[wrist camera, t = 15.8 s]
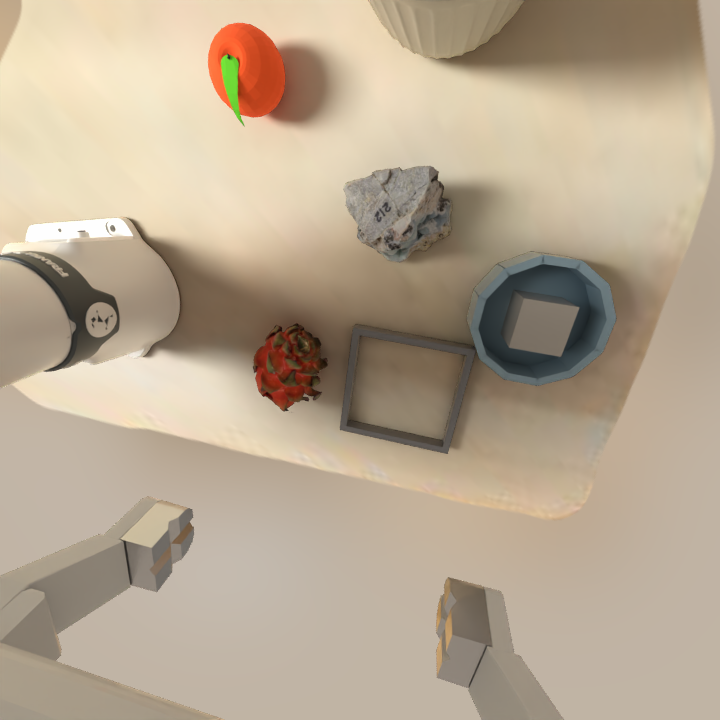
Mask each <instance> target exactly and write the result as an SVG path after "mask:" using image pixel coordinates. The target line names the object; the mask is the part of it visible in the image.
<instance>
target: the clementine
mask: <svg viewBox="0 0 720 720" xmlns="http://www.w3.org/2000/svg"><path fill="white" fill-rule="evenodd" d="M208 67H209V74H210V77H211V80H212V83H213V85H214V88H215V90H216V92H217V93H218V95H219V96H220V98H221V99H222V100H223V101H224V102H225V103H226V104H227V105H228V106H229V107H230V108H231V109H232V110H233V111H234V112H235V114H236V116H237V118H238V119H239V121H240V122H241V123H242V124H243V122H242V119H241V116H240V114H241V115H244V116H249V117H261V116H264V115H266V114H268V113H270V112H271V111H272V110H273V109H274V108H275V107H277V105H278V103H279V102H280V100H281V98H282V95H283V92H284V87H285V70H284V64H283V61H282V58H281V55H280V53H279V52H278V50H277V48H276V46H275V45H274V43H273V41H272V40H271V39H270V38H269V37H268V36H267V35H266V34H265V33H264V32H263V31H261V30H260V29H258V28H256V27H254V26H253V25H251V24H245V23H234V24H229V25H227V26H225V27H224V28H222V29H221V30H220V31H219V32H218V33H217V34H216V35H215V37H214V39H213V41H212V43H211V46H210V50H209V54H208ZM243 125H244V124H243Z"/></svg>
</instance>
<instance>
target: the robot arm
mask: <svg viewBox="0 0 720 720" xmlns="http://www.w3.org/2000/svg"><path fill="white" fill-rule="evenodd" d="M114 226H115V228H116V230H115V228H114ZM179 311H180V298H179V292H178V288H177V284H176V282H175V279H174V277H173V275H172V273H171V271H170V269H169V268H168V266H167V265H166V263H165V262H164V260H163V259H162V258H161V257H160V256H159V255H158V254H157V253H156V252H155V251H154V250H153V249H152V248H151V247H150V246H148V245H147V244H146V243H145V242H144V241H143V239H142V238H141V236H140V234H139V233H138V231H137V229H136V228H135V226H134V225H133V223H132V222H131V221H130V220H129V219H127V218H125V217H116V218H103V219H90V220H77V221H65V222H52V223H40V224H33V225H30V226H29V228H28V231H27V234H26V240H25V242H15V243H8V244H7V245H5V247H4V248H3V251H2V253H1V254H0V388H3V387H5V386H7V385H10V384H13V383H15V382H17V381H20V380H22V379H25V378H27V377H30V376H32V375H35V374H37V373H40V372H42V371H45V372H49V371H56V370H59V369H62V368H63V369H64V368H68V367H71V366H74V365H76V364H78V363H80V362H82V361H83V362H86V363H89V364H90V365H95V364H99V363H102V362H105V361H109V360H112V359H115V358H118V357H121V356H124V355H127V356H130V357H132V358H140V357H143V356H145V355H146V354H147V353H148V351H149V349H150V348H151V346H152V345H153V344H154V343H156V342H158V341H160V340H162V339H163V338H165V337H166V336H168V335H169V334H170V333H171V331H172V330H173V329H174V327H175V325H176V323H177V320H178V317H179ZM192 518H193V512H192V509H190V508H186V507H183V506H180V505H176V504H173V503H170V502H167V501H163V500H160V499H156V498H153V497H149V496H147V497H145V498H143V499H142V500H140V501H139V502H138V503H137V504H136V505H135V506H134V507H133V508H132V509H131V510H130V511H129V512H128V513H127V514H125V515H124V516H123V517H122V518H121V519H120V520H119V521H118V522H117V523H116V524H115V525H114V526H113V527H112V528H111V529H109V530H108V531H107V532H106V533H105V534H104V535H100V534H98V535H96V536H93V537H91V538H89V539H86V540H84V541H81V542H79V543H77V544H74V545H72V546H70V547H68V548H65V549H63V550H60V551H58V552H55V553H53V554H51V555H49V556H46V557H44V558H41V559H39V560H36V561H34V562H32V563H30V564H27V565H25V566H22V567H20V568H17V569H15V570H13V571H10V572H8V573H6V574H3V575H1V576H0V720H224V719H221V718H218V717H216V716H212V715H210V714H207V713H204V712H201V711H198V710H195V709H192V708H190V707H187V706H184V705H181V704H178V703H175V702H172V701H169V700H166V699H164V698H161V697H158V696H155V695H152V694H149V693H146V692H143V691H140V690H137V689H135V688H132V687H129V686H126V685H123V684H120V683H117V682H114V681H111V680H109V679H106V678H103V677H100V676H97V675H94V674H91V673H88V672H86V671H82V670H80V669H77V668H74V667H71V666H68V665H65V664H62V663H59V662H57V661H56V660H57V659H58V658H59V657H60V656H61V646H60V643H59V639H58V636H57V634H58V633H60V632H61V631H63V630H64V629H66V628H68V627H69V626H70V625H72V624H74V623H75V622H77V621H78V620H80V619H81V618H83V617H85V616H86V615H88V614H89V613H91V612H92V611H94V610H95V609H97V608H99V607H100V606H102V605H103V604H105V603H106V602H108V601H109V600H111V599H113V598H114V597H116V596H117V595H119V594H120V593H122V592H123V591H125V590H127V589H128V588H130V585H132V586H136V587H140V588H143V589H147V590H151V591H155V592H157V591H158V590H159V589H160V587H161V586H162V585H163V583H164V582H165V581H166V580H167V578H168V577H169V576H170V574H171V573H172V564H173V563H176V562H177V561H179V560H181V559H182V558H183V557H184V555H185V554H186V553H187V551H188V549H189V547H190V545H191V543H192V541H193V536H194V527H193V526H192V525H191V523H190V520H191V519H192ZM436 633H437V635H438V637H439V638H440V641H439V644H438V647H437V650H436V652H437V654H436V655H437V678H440V679H443V680H445V681H448V682H452V683H454V684H457V685H460V686H464V687H466V688H469V690H468V691H469V693H470V695H471V697H472V700H473V702H474V704H475V706H476V708H477V710H478V712H479V715H480V717H481V719H482V720H564V719H563V718H562V716H561V715H560V713H559V712H558V710H557V709H556V707H555V706H554V704H553V703H552V702H551V700H550V699H549V697H548V696H547V694H546V693H545V691H544V690H543V689H542V687H541V685H540V684H539V683H538V681H537V680H536V678H535V677H534V675H533V674H532V672H531V671H530V669H529V668H528V667H527V665H526V664H525V662H524V661H523V659H522V658H521V656H519V655H516V654H514V649H513V644H512V639H511V633H510V628H509V623H508V618H507V613H506V608H505V602H504V598H503V594H502V592H501V591H498V590H494V589H491V588H487V587H482V586H481V585H477V584H473V583H469V582H465V581H461V580H457V579H454V578H449V577H448V578H447V579H446V582H445V585H444V594H443V595H442V596H441V597H440V601H439V604H438V610H437V620H436Z"/></svg>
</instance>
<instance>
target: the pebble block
mask: <svg viewBox="0 0 720 720" xmlns="http://www.w3.org/2000/svg"><path fill="white" fill-rule="evenodd" d="M579 308H580V307H578V306H576V305H574V304H573V303H571V302H569V301H568V300H566V299H564V298H562V297H557V296H551V295H545V294H539V293H532V292H526V291H520V290H514V289H513V292H512V295H511V299H510V302H509V306H508V309H507V312H506V316H505V319H504V323H503V326H502V329H501V333H500V334H501V335H502V337H503V339H504V340H505V342H506V344H507V345H508V347H509V348H515V349H520V350H526V351H531V352H537V353H542V354H548V355H553V356H559V357H561V356H562V353H563V351H564V348H565V345H566V343H567V340H568V337H569V334H570V332H571V329H572V326H573V324H574V321H575V318H576V316H577V313H578V310H579Z"/></svg>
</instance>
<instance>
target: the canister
mask: <svg viewBox="0 0 720 720" xmlns="http://www.w3.org/2000/svg"><path fill="white" fill-rule="evenodd" d="M368 1H369V3H370V5H371V6H372V8H373V10H374V11H375V13H376V15H377V16H378V18H379V20H380V21H381V23H382V25H383V26H384V27H385V28H386V29H387V30H388V31H389V33H390V35H391V36H392V37H393V38H394V39H395V40H397V41H399V43H400V44H401V46H402V47H405V48H407V49H409V50H411V51H412V52H413V53H414V54H416V53H417V54H420V55H422V56H423V57H432V58H435V59H438V58H448V59H449V58H451V57H454V56H462V55H463V54H464V53H466V52H469V51H474V50H475V49H476V48H477V47H478V46H480V45H482V44H485V43H487V42H488V41H489V39H490V38H491V37H492V36H494V35H495V34H497V33H499V32H500V30H501V29H502V28H503V26H504V25H505V24H506V23H507V22H508V21H510V20H511V19H512V17H513V16H514V15H515V13H516V12H517V10H518V9H519V8H520V6H521V5H522V3H523V2H524V1H525V0H368Z"/></svg>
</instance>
